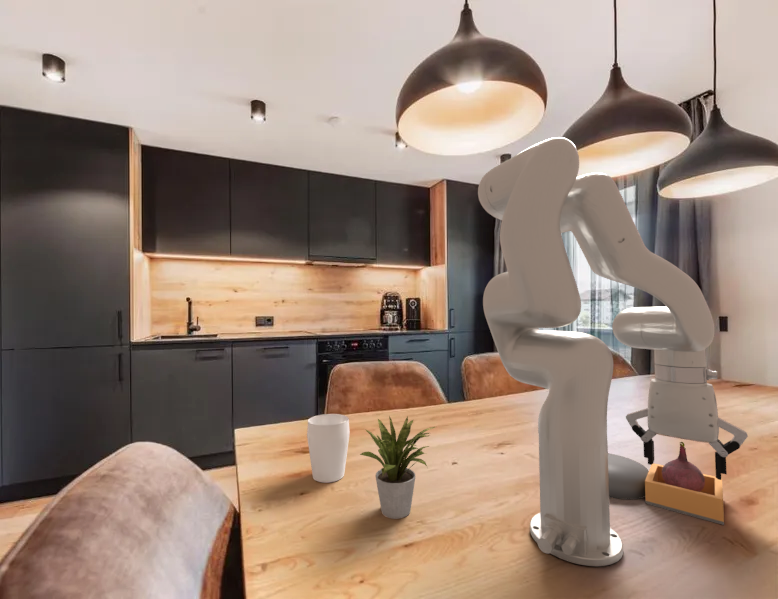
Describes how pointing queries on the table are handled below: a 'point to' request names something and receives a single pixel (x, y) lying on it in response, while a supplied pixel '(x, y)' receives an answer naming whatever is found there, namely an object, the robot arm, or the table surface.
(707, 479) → the dome with orange frame
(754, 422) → the table surface
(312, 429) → the cup
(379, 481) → the house plant
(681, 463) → the vegetable
